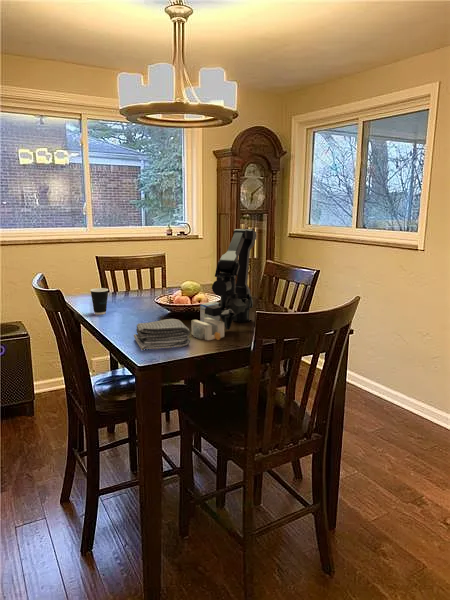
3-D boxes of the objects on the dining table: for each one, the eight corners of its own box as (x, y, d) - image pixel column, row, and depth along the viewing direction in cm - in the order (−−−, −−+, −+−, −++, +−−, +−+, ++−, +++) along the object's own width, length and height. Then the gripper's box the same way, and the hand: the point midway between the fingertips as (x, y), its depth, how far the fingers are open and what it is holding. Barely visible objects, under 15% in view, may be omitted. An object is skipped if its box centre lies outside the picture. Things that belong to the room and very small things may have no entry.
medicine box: (212, 321, 196) (212, 301, 194) (220, 322, 193) (220, 302, 191) (199, 324, 190) (200, 304, 188) (207, 326, 187) (208, 305, 185)
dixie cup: (105, 315, 202) (104, 291, 200) (88, 315, 203) (87, 290, 201) (111, 311, 210) (110, 288, 208) (95, 311, 211) (93, 287, 209)
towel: (191, 347, 160) (191, 325, 158) (139, 351, 154) (138, 329, 153) (181, 335, 174) (181, 315, 172) (133, 339, 168) (132, 318, 167)
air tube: (214, 332, 178) (214, 322, 177) (220, 334, 175) (220, 324, 174) (193, 336, 172) (193, 326, 171) (199, 339, 169) (199, 328, 168)
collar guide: (208, 331, 180) (208, 317, 179) (227, 337, 171) (227, 323, 170) (191, 334, 175) (191, 320, 174) (210, 341, 166) (210, 326, 165)
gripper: (222, 297, 164) (221, 338, 168) (259, 291, 176) (258, 330, 179) (203, 292, 173) (203, 331, 176) (241, 286, 184) (240, 324, 188)
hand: (227, 329), depth 180 cm, fingers closed
